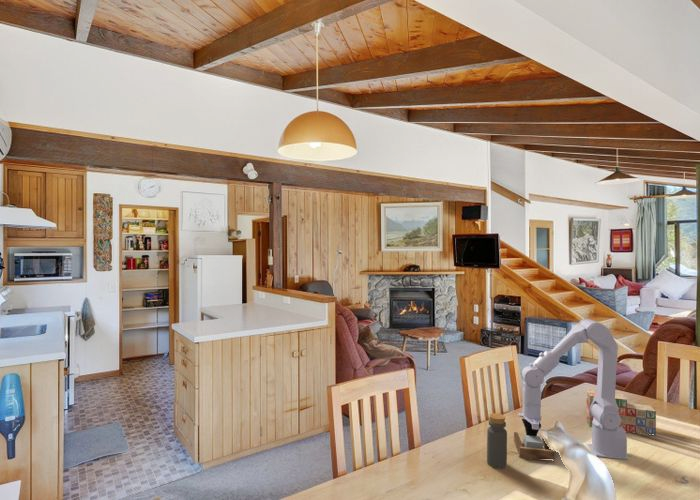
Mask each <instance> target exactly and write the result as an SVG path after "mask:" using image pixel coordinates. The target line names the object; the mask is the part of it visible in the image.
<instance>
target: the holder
mask: <svg viewBox="0 0 700 500" xmlns="http://www.w3.org/2000/svg"><path fill="white" fill-rule="evenodd" d="M541 440H542V442H543V446H544V447H543V449H538V448H530V447H524V444H523V442H522V441H521V438H520V435H519V432H516V431H515V432H513V442H514V445H515V448H516V451H517V453H518V456H519V458H523V459H532V460H538V459H553V460H554V459H555V460H556V458H555V457H556V450H554V449H553V450H554V451H553V450H551V449H549V447H548V446H547V444H546V443H545V441H544V439H543V438H542V437H541ZM544 448H545V449H544Z"/></svg>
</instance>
